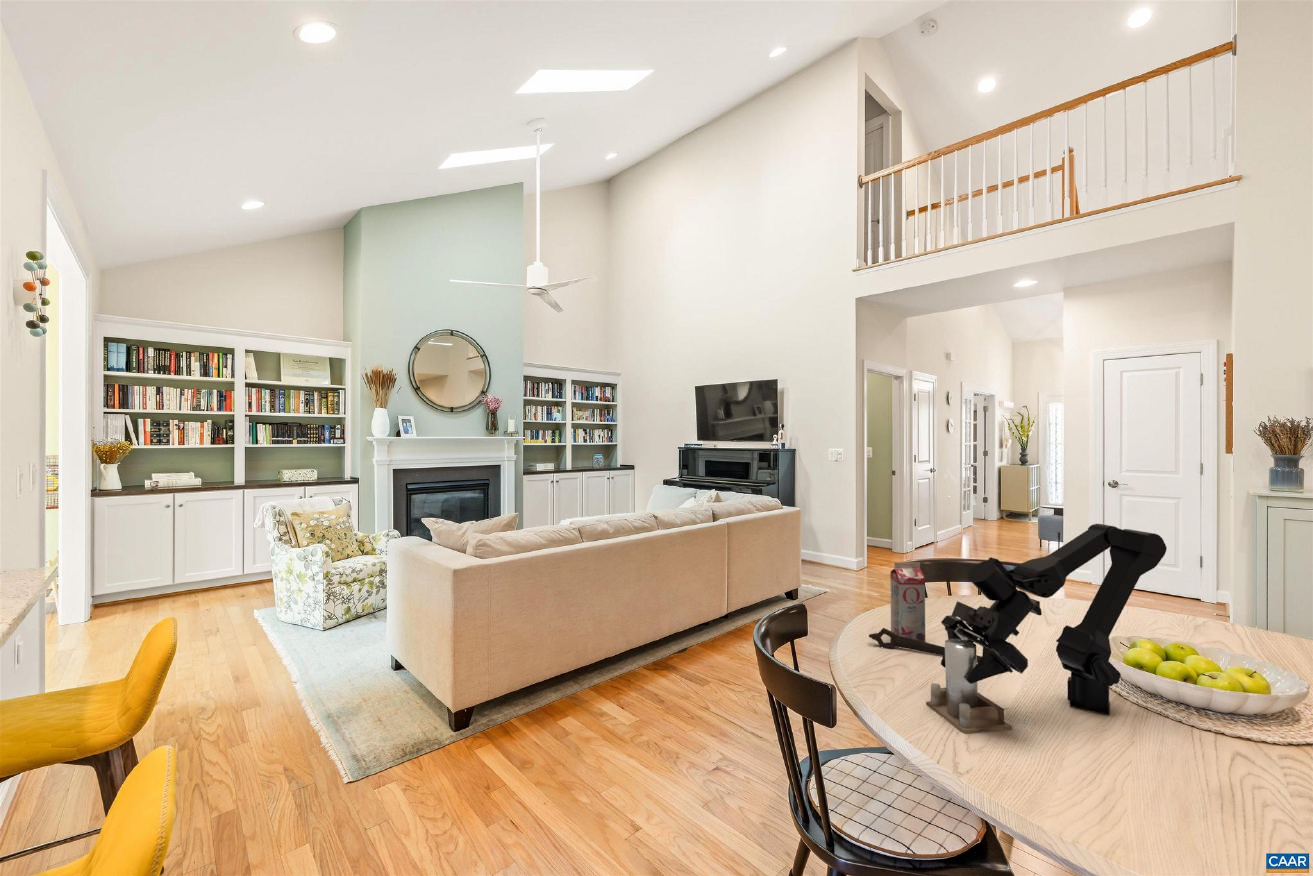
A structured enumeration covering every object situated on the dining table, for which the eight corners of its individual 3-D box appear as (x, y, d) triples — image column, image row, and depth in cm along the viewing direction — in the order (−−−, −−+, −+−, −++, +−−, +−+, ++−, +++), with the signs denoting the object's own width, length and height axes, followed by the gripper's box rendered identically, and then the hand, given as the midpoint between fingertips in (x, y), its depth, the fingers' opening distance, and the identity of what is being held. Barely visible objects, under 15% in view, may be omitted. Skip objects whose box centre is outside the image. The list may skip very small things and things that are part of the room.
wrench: (996, 681, 137) (865, 648, 153) (997, 674, 141) (869, 643, 157) (998, 659, 137) (866, 628, 153) (998, 653, 141) (870, 624, 157)
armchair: (969, 700, 122) (969, 679, 122) (1012, 729, 110) (1011, 705, 110) (926, 704, 121) (925, 682, 121) (964, 733, 109) (964, 709, 109)
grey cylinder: (965, 705, 119) (963, 637, 119) (984, 718, 113) (982, 647, 113) (940, 708, 118) (938, 640, 118) (958, 721, 112) (956, 650, 112)
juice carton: (925, 648, 153) (924, 565, 152) (899, 648, 153) (898, 565, 153) (915, 639, 159) (914, 559, 159) (890, 639, 160) (890, 559, 160)
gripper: (948, 577, 125) (901, 631, 124) (1013, 601, 107) (959, 665, 105) (982, 611, 126) (936, 665, 125) (1051, 641, 108) (998, 705, 106)
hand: (955, 673), depth 115 cm, fingers open, 8 cm apart
